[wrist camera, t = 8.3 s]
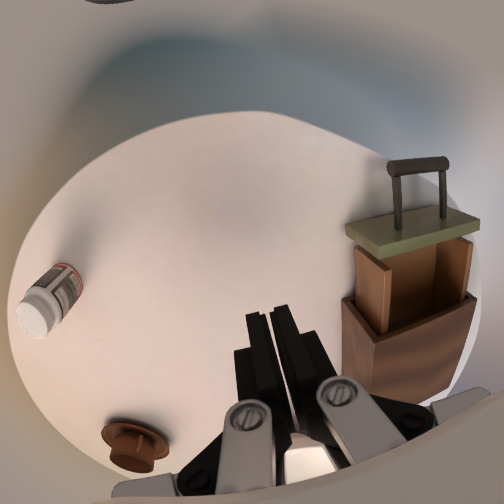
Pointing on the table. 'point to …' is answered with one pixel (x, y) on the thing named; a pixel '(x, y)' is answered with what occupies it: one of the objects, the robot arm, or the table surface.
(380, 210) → the table surface
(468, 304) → the cabinet
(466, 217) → the drawer
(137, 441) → the cup and saucer
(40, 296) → the pill bottle
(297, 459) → the bowl
